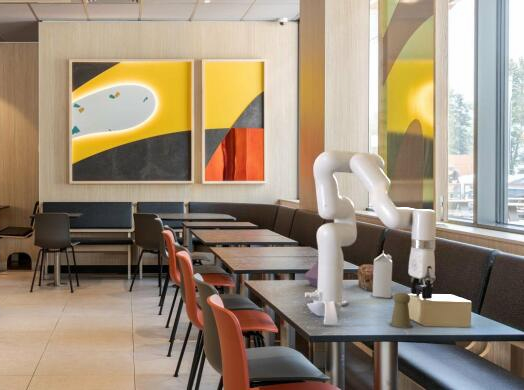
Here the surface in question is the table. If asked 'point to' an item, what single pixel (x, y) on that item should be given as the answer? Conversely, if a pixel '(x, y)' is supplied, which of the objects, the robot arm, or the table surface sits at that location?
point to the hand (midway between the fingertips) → (421, 295)
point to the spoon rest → (326, 311)
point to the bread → (366, 276)
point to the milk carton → (382, 276)
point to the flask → (313, 275)
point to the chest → (440, 314)
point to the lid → (438, 298)
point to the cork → (401, 310)
